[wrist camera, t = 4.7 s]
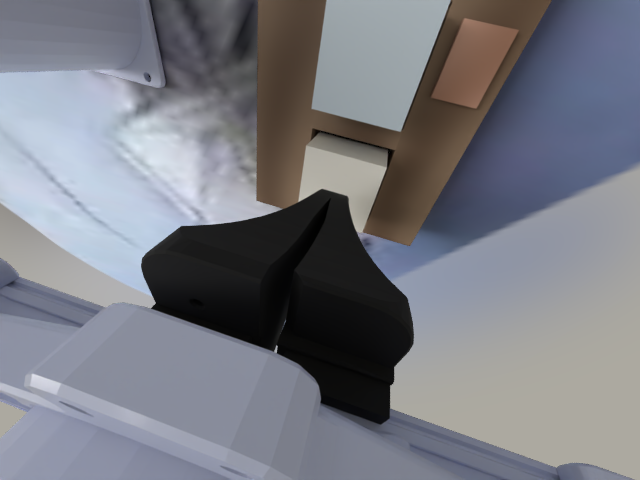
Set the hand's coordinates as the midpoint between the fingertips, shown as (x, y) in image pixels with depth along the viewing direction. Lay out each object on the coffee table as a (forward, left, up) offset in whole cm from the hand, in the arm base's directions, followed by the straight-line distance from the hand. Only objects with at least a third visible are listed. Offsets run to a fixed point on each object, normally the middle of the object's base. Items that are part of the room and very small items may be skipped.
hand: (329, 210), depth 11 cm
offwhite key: (0, 0, -5) cm, 5 cm away
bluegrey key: (0, +6, -5) cm, 7 cm away
